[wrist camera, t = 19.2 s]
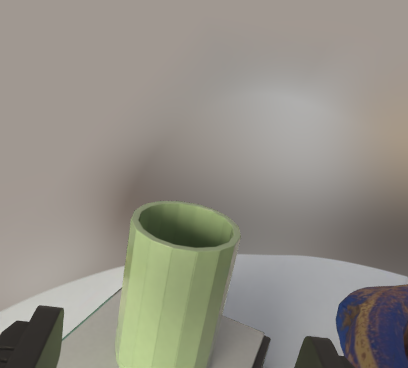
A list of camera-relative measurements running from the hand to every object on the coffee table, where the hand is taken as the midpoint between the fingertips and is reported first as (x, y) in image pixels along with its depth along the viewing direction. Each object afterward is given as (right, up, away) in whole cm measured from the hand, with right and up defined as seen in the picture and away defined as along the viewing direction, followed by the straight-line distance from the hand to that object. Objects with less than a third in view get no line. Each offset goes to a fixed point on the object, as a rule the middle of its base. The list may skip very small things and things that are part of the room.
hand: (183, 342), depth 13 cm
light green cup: (-2, -5, +11) cm, 13 cm away
